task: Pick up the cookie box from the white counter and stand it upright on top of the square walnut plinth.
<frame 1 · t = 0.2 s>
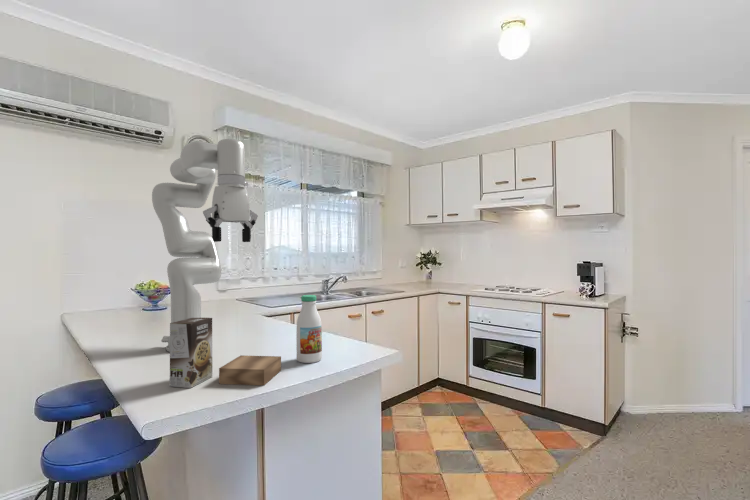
hand: (232, 241, 113), 37 cm above the table, fingers open, 9 cm apart
plinth: (251, 376, 104), on the table
milk bottle: (309, 360, 120), on the table
cookie box: (192, 382, 101), on the table
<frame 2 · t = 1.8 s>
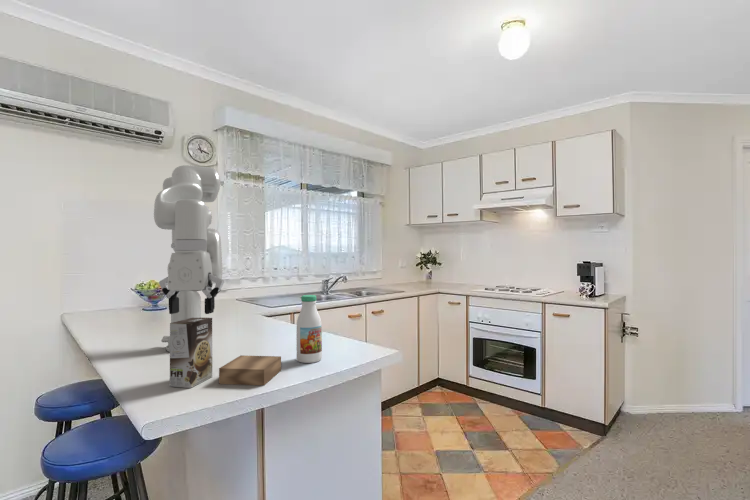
hand: (191, 313, 100), 18 cm above the table, fingers open, 9 cm apart
nothing on the table moved.
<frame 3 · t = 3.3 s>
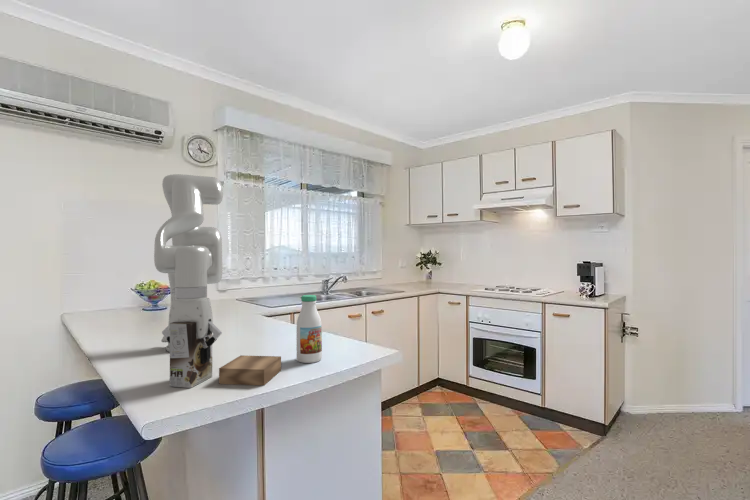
hand: (191, 361, 101), 5 cm above the table, fingers closed on cookie box, 6 cm apart
cookie box: (192, 382, 101), on the table, touching gripper
everything else where it was.
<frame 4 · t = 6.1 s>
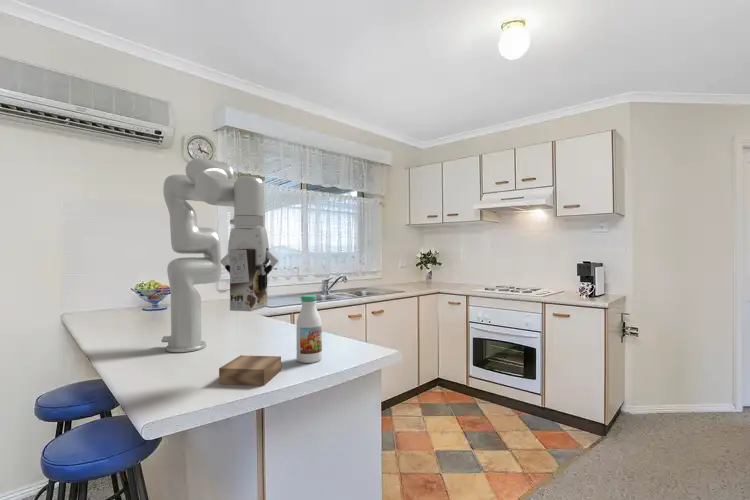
hand: (249, 289, 104), 24 cm above the table, fingers closed on cookie box, 6 cm apart
cookie box: (249, 309, 104), point 18 cm above the table, touching gripper
everything else where it was.
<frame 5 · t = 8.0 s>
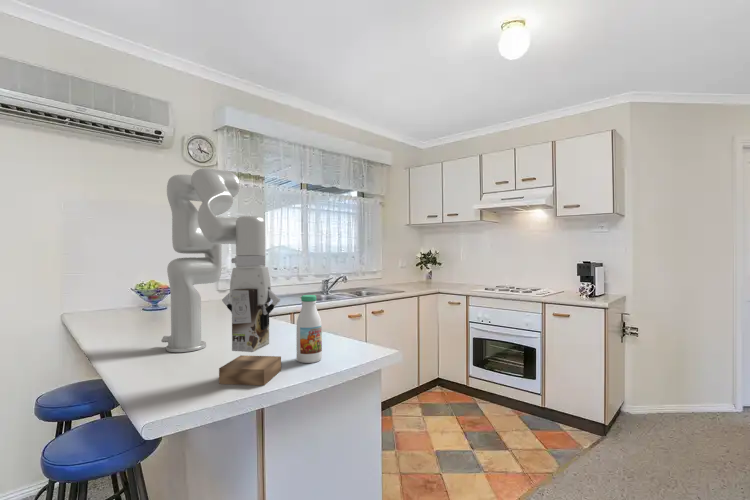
hand: (251, 328, 104), 13 cm above the table, fingers closed on cookie box, 6 cm apart
cookie box: (251, 348, 104), point 8 cm above the table, touching gripper
everything else where it was.
when the fingers open (10 cm above the table, at t = 9.1 s): cookie box drops 1 cm, resting on plinth.
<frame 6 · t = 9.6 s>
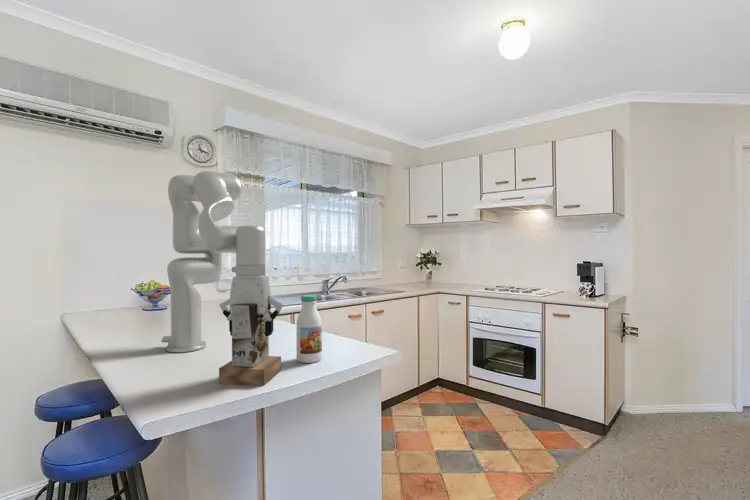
hand: (251, 334, 104), 11 cm above the table, fingers open, 9 cm apart
cookie box: (251, 362, 104), point 4 cm above the table, touching plinth
everything else where it was.
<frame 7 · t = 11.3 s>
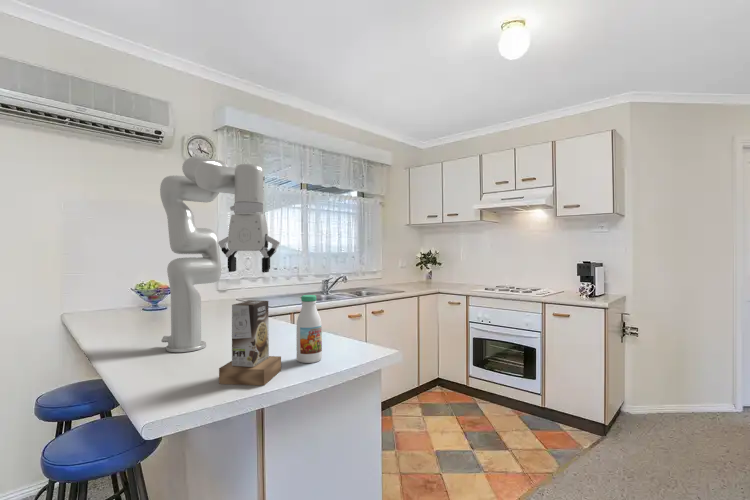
hand: (248, 271, 107), 28 cm above the table, fingers open, 9 cm apart
nothing on the table moved.
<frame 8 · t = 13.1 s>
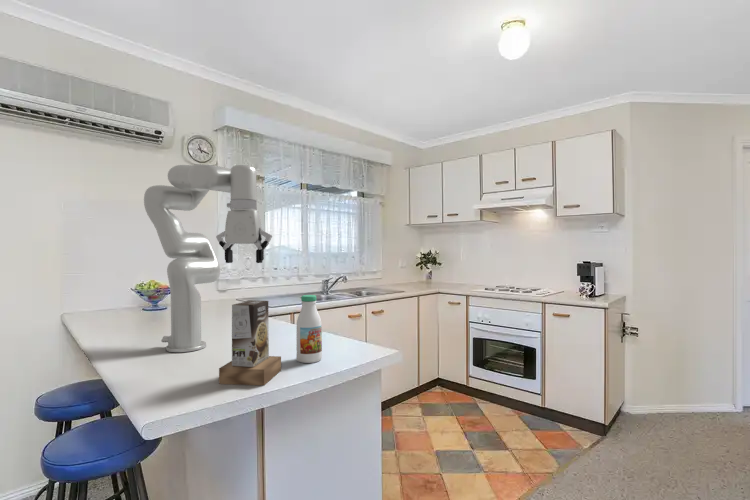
hand: (244, 262, 118), 30 cm above the table, fingers open, 9 cm apart
nothing on the table moved.
at the end: cookie box inside the target area on the plinth (0.2 cm from its centre), point 3.8 cm above the plinth's base; cookie box tilted 0°; cookie box touching plinth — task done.
